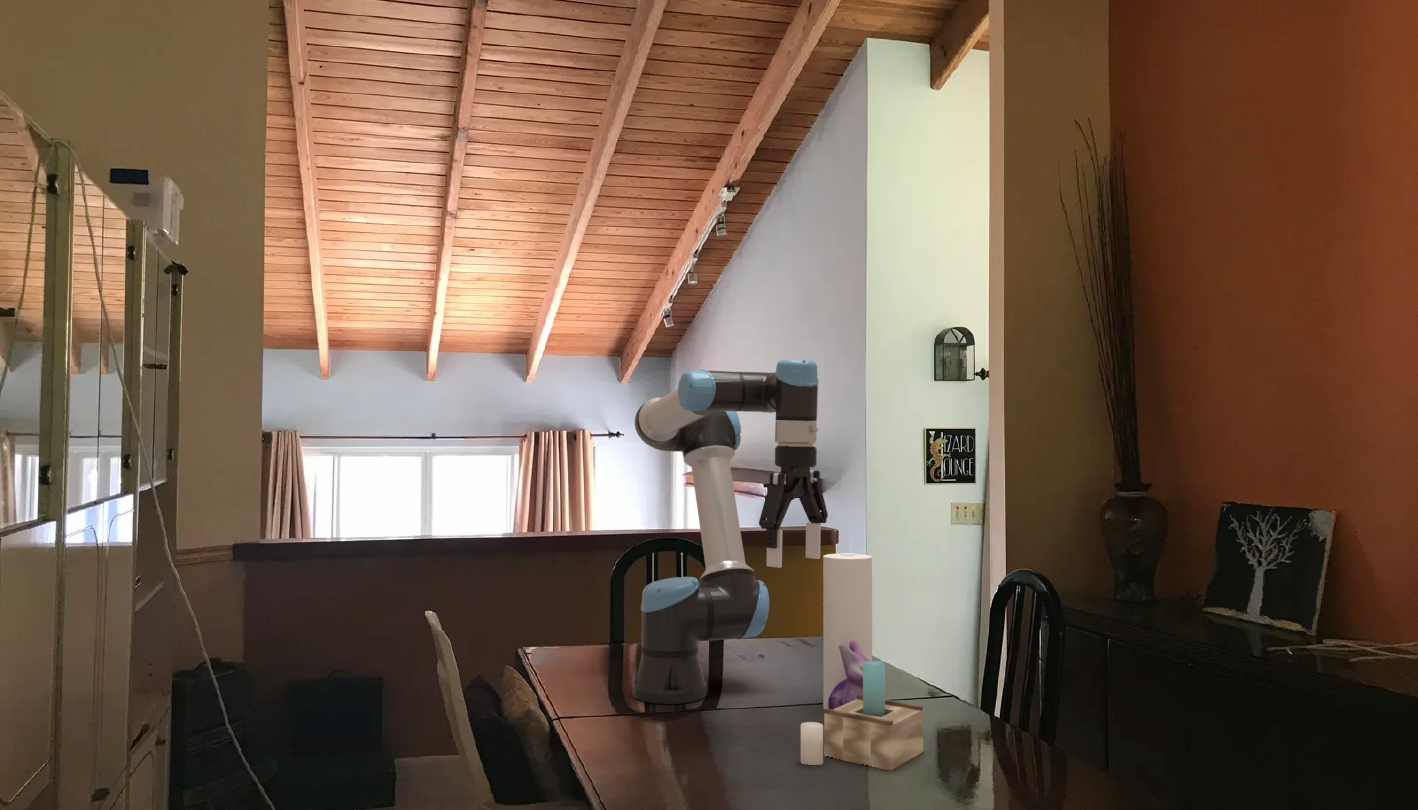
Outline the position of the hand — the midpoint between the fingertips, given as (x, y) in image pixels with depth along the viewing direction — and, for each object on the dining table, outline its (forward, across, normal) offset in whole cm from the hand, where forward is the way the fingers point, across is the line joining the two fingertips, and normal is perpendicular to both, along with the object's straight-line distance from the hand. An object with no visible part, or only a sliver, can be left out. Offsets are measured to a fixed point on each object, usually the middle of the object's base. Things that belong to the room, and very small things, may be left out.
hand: (794, 562), depth 178 cm
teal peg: (+29, -5, -19) cm, 35 cm away
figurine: (+30, +10, -8) cm, 33 cm away
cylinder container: (+30, +18, -2) cm, 35 cm away
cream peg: (+29, -14, -12) cm, 35 cm away
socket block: (+29, -5, -19) cm, 35 cm away
